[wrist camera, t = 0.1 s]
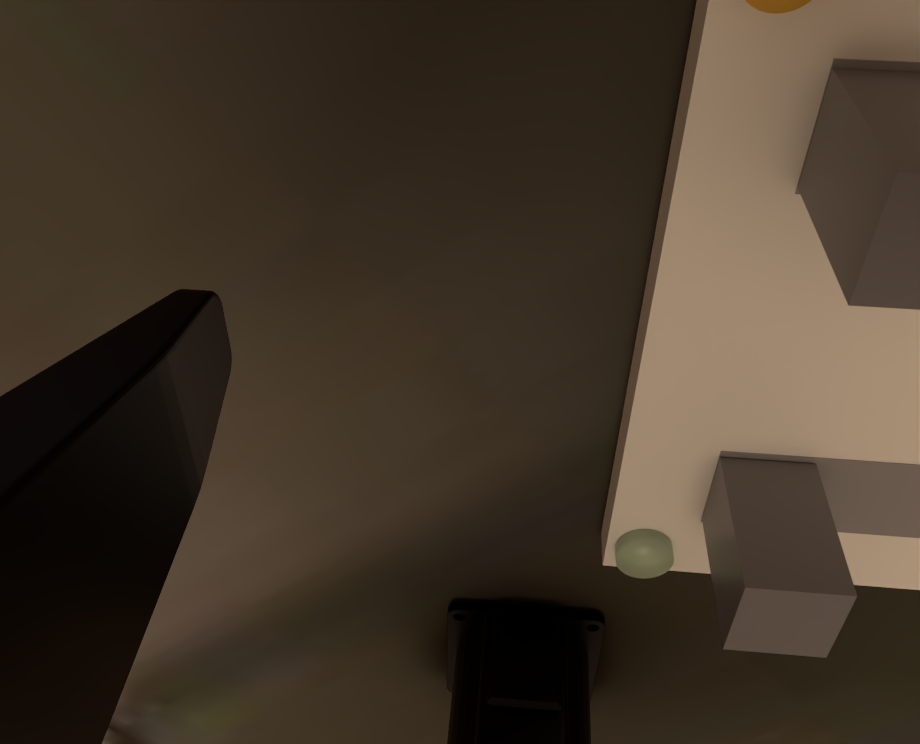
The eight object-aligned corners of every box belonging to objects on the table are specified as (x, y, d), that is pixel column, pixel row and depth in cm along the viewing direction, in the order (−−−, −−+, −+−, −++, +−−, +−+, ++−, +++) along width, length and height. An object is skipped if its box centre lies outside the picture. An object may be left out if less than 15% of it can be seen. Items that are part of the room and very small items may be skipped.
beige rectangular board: (955, 559, 32) (976, 607, 31) (601, 533, 33) (603, 578, 32) (1353, -105, 18) (1428, -80, 17) (719, -126, 19) (734, -104, 17)
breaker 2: (921, 194, 22) (999, 314, 18) (797, 188, 22) (848, 305, 18) (968, 74, 20) (1067, 180, 16) (832, 68, 20) (896, 171, 16)
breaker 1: (792, 526, 30) (826, 657, 26) (702, 519, 30) (722, 649, 26) (816, 464, 28) (857, 596, 24) (719, 457, 28) (745, 587, 24)
